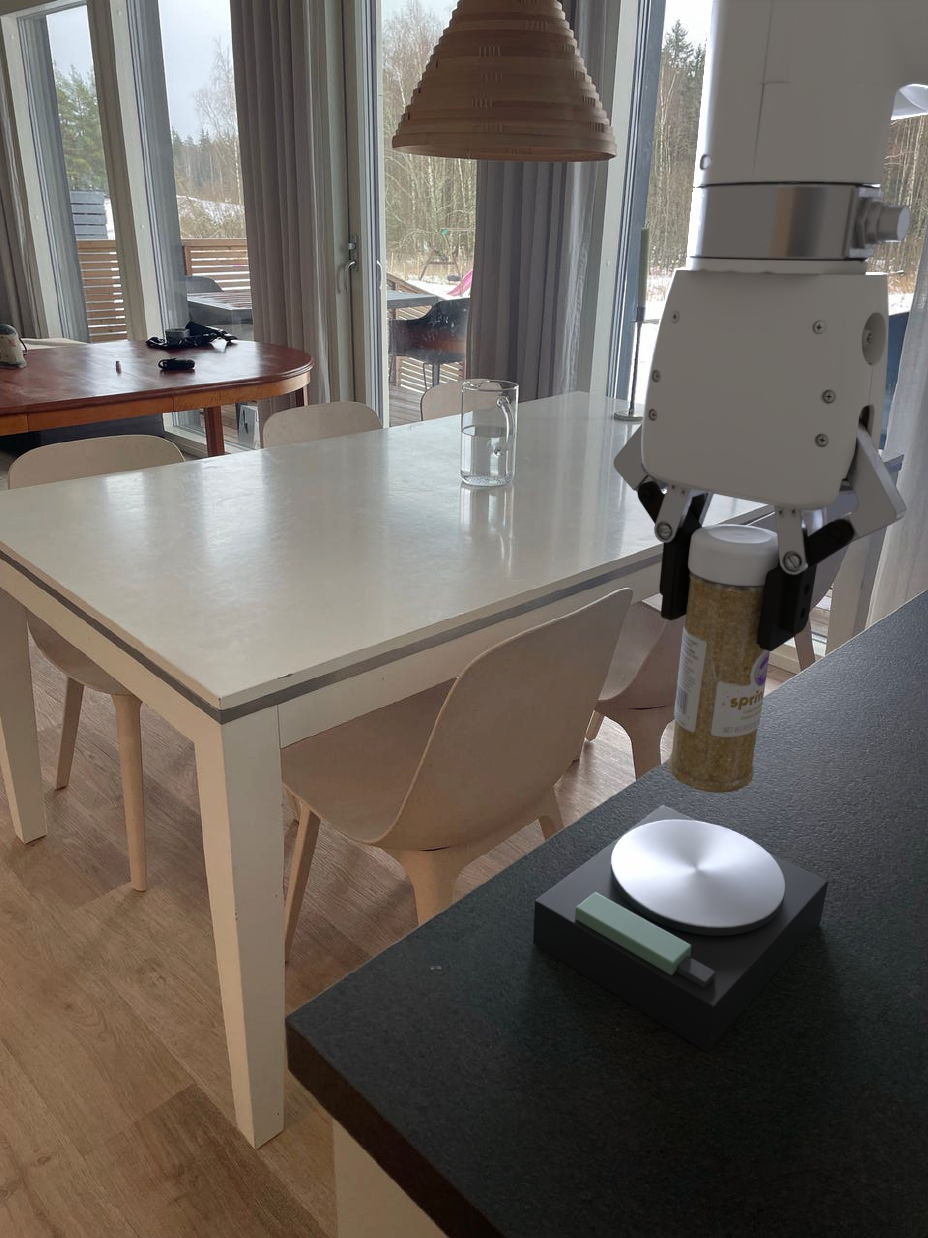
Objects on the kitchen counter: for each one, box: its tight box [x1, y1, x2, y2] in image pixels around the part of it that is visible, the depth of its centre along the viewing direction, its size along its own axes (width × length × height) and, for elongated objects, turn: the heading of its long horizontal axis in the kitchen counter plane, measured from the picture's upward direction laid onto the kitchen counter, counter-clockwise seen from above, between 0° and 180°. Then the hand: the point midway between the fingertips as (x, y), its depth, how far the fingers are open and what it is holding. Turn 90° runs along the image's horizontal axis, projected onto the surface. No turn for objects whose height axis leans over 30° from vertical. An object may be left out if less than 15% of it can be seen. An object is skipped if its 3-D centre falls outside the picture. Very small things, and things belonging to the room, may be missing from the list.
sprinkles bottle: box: [667, 523, 779, 794], centre depth 48 cm, size 5×5×13 cm
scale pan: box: [611, 820, 786, 936], centre depth 53 cm, size 10×10×1 cm
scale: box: [532, 804, 829, 1053], centre depth 52 cm, size 13×11×4 cm
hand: (728, 623), depth 47 cm, fingers closed on sprinkles bottle, 4 cm apart
